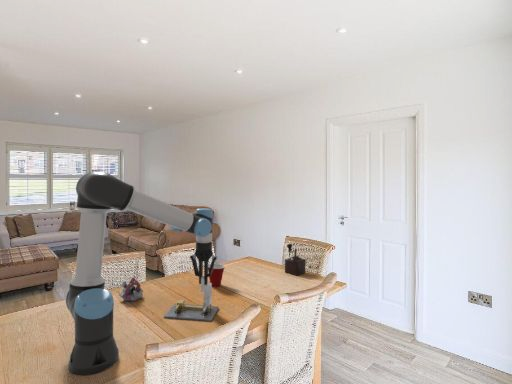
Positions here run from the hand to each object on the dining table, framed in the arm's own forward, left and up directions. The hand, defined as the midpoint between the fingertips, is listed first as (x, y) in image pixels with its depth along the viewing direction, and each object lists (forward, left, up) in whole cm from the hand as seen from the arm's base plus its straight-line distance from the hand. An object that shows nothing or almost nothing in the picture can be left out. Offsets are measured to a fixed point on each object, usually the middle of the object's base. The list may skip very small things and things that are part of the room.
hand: (203, 290), depth 148 cm
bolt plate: (-3, +4, -10) cm, 11 cm away
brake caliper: (+9, +40, -10) cm, 42 cm away
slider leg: (-2, -2, -9) cm, 9 cm away
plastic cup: (+35, +2, -10) cm, 37 cm away
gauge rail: (-3, +4, -10) cm, 11 cm away
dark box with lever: (+70, -43, -10) cm, 83 cm away
